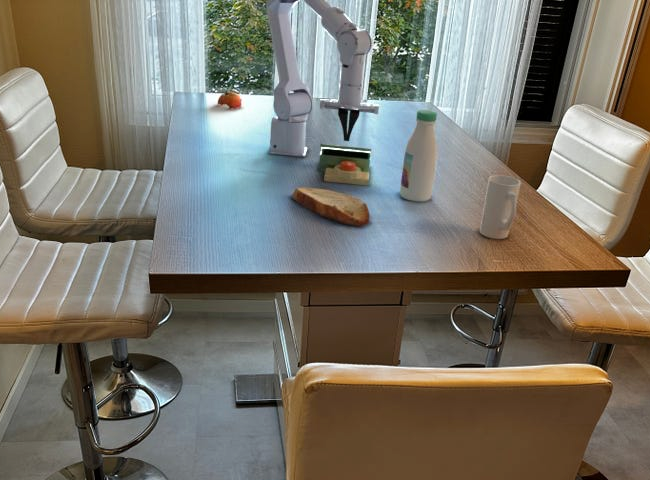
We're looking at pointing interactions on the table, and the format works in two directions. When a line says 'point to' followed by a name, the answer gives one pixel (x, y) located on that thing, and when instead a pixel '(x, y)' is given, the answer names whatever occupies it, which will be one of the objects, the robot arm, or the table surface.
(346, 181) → the switch block
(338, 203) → the bread slice
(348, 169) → the switch
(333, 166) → the box
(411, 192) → the milk bottle
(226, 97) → the tomato
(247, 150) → the table surface
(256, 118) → the table surface
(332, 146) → the lid
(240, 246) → the table surface
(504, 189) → the mug
